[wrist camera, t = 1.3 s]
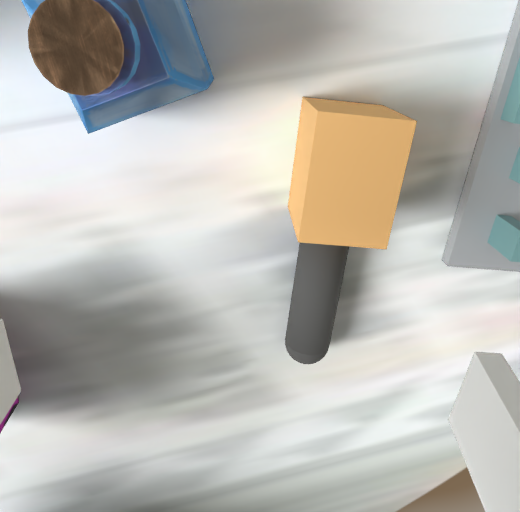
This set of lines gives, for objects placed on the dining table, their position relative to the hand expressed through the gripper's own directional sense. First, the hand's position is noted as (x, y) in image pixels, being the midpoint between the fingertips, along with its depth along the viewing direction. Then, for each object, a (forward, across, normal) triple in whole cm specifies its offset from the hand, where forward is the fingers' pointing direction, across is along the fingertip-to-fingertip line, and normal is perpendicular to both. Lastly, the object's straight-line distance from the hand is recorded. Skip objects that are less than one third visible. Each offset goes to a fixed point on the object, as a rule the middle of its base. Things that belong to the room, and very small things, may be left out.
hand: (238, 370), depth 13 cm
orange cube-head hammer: (+19, -5, +5) cm, 20 cm away
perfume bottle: (+19, +7, -6) cm, 21 cm away
